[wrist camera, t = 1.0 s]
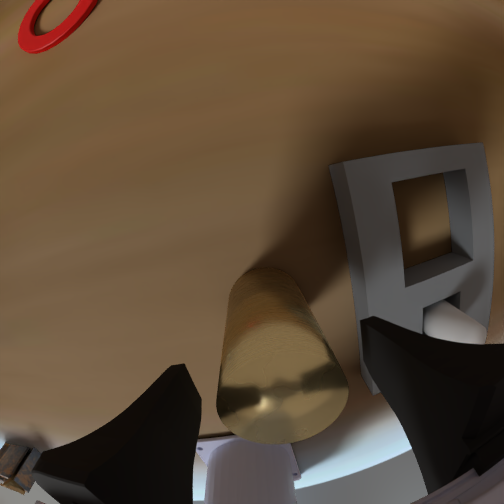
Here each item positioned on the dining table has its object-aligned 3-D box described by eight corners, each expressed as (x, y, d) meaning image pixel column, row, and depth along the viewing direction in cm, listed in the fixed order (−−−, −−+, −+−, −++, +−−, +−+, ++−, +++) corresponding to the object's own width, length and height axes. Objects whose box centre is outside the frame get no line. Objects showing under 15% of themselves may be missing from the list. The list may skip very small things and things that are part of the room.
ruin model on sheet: (33, 443, 22) (6, 487, 12) (48, 458, 22) (23, 502, 13) (4, 439, 22) (-20, 473, 13) (16, 452, 23) (-7, 487, 14)
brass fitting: (306, 323, 17) (351, 426, 9) (239, 340, 18) (238, 452, 9) (293, 259, 16) (342, 334, 8) (219, 278, 17) (196, 369, 8)
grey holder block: (469, 326, 18) (511, 358, 12) (361, 375, 19) (391, 429, 13) (460, 145, 15) (519, 139, 9) (328, 165, 15) (373, 154, 9)
